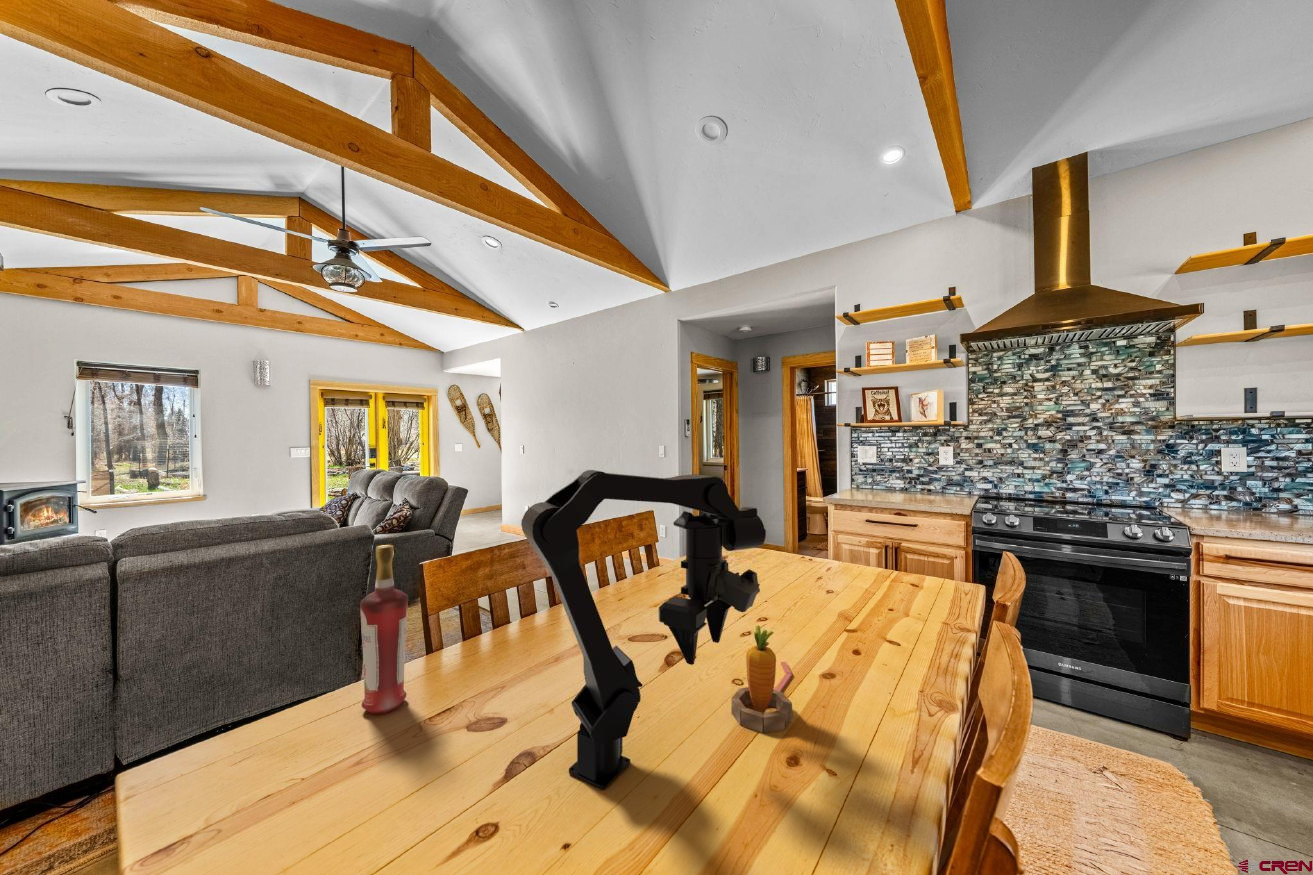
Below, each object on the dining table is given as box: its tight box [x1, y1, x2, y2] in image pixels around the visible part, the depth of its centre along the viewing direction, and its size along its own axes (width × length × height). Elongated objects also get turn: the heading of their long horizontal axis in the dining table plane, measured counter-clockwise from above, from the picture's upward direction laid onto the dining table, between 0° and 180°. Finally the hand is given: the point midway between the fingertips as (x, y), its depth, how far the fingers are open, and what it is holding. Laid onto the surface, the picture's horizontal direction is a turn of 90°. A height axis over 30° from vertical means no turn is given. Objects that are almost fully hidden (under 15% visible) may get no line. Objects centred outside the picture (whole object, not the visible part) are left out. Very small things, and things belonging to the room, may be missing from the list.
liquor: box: [359, 544, 409, 715], centre depth 85 cm, size 7×7×28 cm
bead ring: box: [730, 686, 793, 734], centre depth 83 cm, size 9×9×2 cm
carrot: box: [745, 625, 777, 713], centre depth 83 cm, size 5×5×15 cm
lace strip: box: [774, 661, 793, 692], centre depth 94 cm, size 16×3×1 cm, turn 149°
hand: (703, 652), depth 78 cm, fingers open, 9 cm apart
